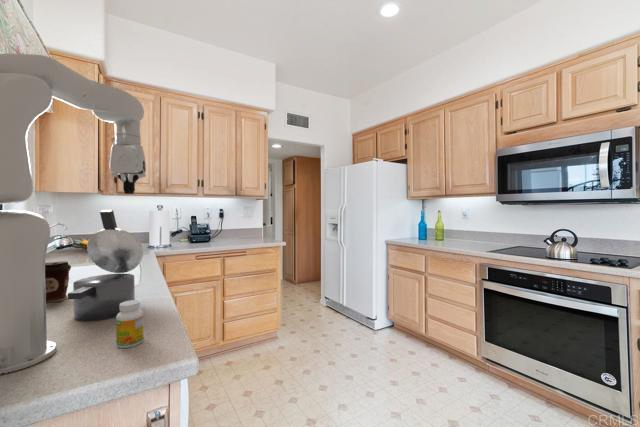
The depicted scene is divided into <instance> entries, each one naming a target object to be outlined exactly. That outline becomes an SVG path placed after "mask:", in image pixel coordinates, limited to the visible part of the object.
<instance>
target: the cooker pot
mask: <svg viewBox="0 0 640 427" xmlns="http://www.w3.org/2000/svg"><path fill="white" fill-rule="evenodd" d="M72 287H73V288H72V289H73V290H72V291H70V292H67V300H73V316H74V320H76V321H79V322H95V321H103V320H109V319H113V318H116V316H117V314H118V313H120V312H121V311H120V309H119V305H120V303H122V302H125V301H130V300H136V296H135V295H136V293H135V292H136V291H135V275H134V274H131V273H108V274H99V275H94V276H88V277H85V278H84V277H83V278H81V279H78V280H75V281H73V286H72Z"/></svg>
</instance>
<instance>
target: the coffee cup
mask: <svg viewBox="0 0 640 427" xmlns="http://www.w3.org/2000/svg"><path fill="white" fill-rule="evenodd" d="M71 268H72V266H71V264H69V261H67V260H66V261H63V260H62V261H54V262H53V261H52V262H51V261H50V262H49V261H48V262H45V290H46V303H53V302H60V301H65V300H68V295H67V293H68V288H69V282H70V275H69V274H70V270H71Z"/></svg>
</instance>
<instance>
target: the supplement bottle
mask: <svg viewBox="0 0 640 427" xmlns="http://www.w3.org/2000/svg"><path fill="white" fill-rule="evenodd" d="M140 303H141V302H140V300H137V299H135V300H130V301H125V302H122V303H120V305H119V309H120V311H121V312H120V313H118V314H117V316H116V317H115V326H116V327H115V331H116V333H115V334H116V337H115V338H116V341H115V342H116V347H117V348H120V349H128V348H133V347H135V346H138V345H140V344H142V343H143V341H144V312H143V310H142V309H140V305H141V304H140Z"/></svg>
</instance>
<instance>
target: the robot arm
mask: <svg viewBox="0 0 640 427" xmlns="http://www.w3.org/2000/svg"><path fill="white" fill-rule="evenodd" d="M53 98H54V99H56V100H58V101H61V102H64V103H66V104H67V105H70V106H72V107H74V108H77V109H81V110H88V111H92V114H93V116H95V117H96V118H97V119H99V120H100V121H103V122H106V123H107V122H108V123H112V124H113V125H114V137H112V138H110V139H111V140H110V141H111V142H112V143H113V144H112V145H111V149H110V155H109V171H110V172H111V177H114V178H117V179H119V180H120V181H121V182H122V185H123V188H122V189H123V192H124V194H125V195H127V194H128V195H134V193H135V190H136V189H135V186H136V184H135V183H136V182H137V181H138V180H139V179H141V178H142V179H143V178H146V171H147V169H146V168H147V167H146V166H147V162H146V157H145V152H144V147H143V146H142V144H141V143H142V142H141V139H142V138H141V121H142V120H143V118H144V115H145V110H144V107H143V104H142V103H141V102H140V101H139V99H138V98H137V97H135V96H134V95H133V94H131V93H129V92H127V91H125V90H123V89H121V88H119V87H114V86H111V85H108V84H106V83H101V82H99V81H97V80H91V79H89V78H87V77H86V76H83V75H82V74H80V73H79V72H77V71H76V70H73V69H72V68H70V67H68V66H66V65H65V64H63V63H61V62H60V61H58V60H57V59H54V58H52V57H50V56H47V55H43V54H42V55H41V54H33V53H31V54H29V53H28V54H27V53H0V205H12V204H18V203H22V202H25V201H27V200H28V199H29V198H31V196H32V194H33V192H34V181H33V180H34V179H33V174H32V173H33V172H32V169H31V167H32V166H31V161H30V155H29V149H28V148H29V147H28V132H29V129H30V127H31V126H32V124H33V123H34V121H35V120H37V118H39V116H42V115H43V114H44V113H45V112H47V111H48V110H49V109H50V107H51V105H52V104H53ZM50 238H51V227H50V224H49V222H48V221H47V219H46V218H44V217H43V216H42V215H41V214H39V213H36V212H32V211H28V210H19V209H17V210H16V209H8V210H7V209H2V210H0V375H3V374H2V373H4V374H9V373H13V372H16V371H19V370H20V371H21V370H22V369H26V368H28V367H31V366H33V365H36V364H38V363H41V362H43V361H45V360H47V359H48V358H49V357H52V356H53V355H54V354H55V353H56V351H57V343H56V342H54V341H51V340H48V336H47V333H48V330H47V326H48V325H47V302H46V290H45V263H46V258H47V257H46V256H47V251H48V246H49V242H50ZM8 372H9V373H8Z"/></svg>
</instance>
